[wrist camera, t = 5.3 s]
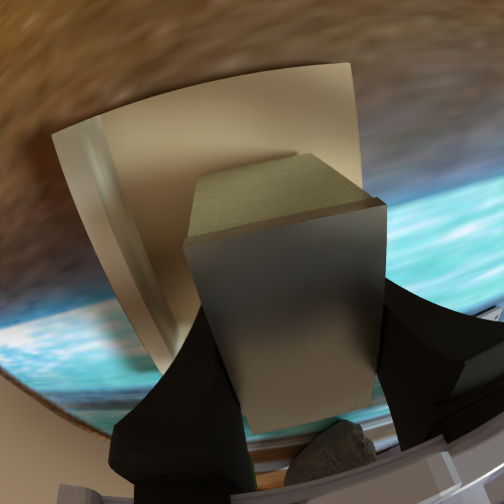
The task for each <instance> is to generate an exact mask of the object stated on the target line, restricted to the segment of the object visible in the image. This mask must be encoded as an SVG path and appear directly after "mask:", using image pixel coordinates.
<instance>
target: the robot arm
mask: <svg viewBox="0 0 504 504" xmlns="http://www.w3.org/2000/svg"><path fill="white" fill-rule="evenodd" d="M501 311H502V309H501V308H500V307H499V306H498V307H495V308H493V309H491V310H489V311H487V312H485V313H483V314H481V315H478V316H476V317H474V316H470V315H466V314H463V313H459V312H456V311H453V310H450V309H448V308H445V307H442V306H439V305H437V304H434V303H432V302H430V301H428V300H426V299H423V298H421V297H419V296H417V295H415V294H413V293H411V292H409V291H408V290H406V289H404V288H402V287H400V286H399V285H397V284H395V283H394V282H392V281H390V280H389V279H387V278H386V277H385V290H384V304H383V315H382V326H381V335H380V344H379V352H378V360H377V367H376V373H377V376H378V379H379V381H380V384H381V387H382V389H383V392H384V395H385V398H386V401H387V404H388V407H389V410H390V413H391V416H392V419H393V423H394V426H395V430H396V433H397V437H398V441H399V445H400V449H401V453H398V454H396V455H393V456H390V457H388V458H385V459H382V460H380V461H377V462H374V463H371V464H368V465H365V466H362V467H359V468H356V469H353V470H350V471H346V472H343V473H339V474H336V475H332V476H329V477H325V478H321V479H317V480H313V481H309V482H305V483H300V484H296V485H291V486H286V487H281V488H275V489H270V490H264V491H257V492H256V488H255V483H254V478H253V474H252V469H251V464H250V459H249V454H248V449H247V443H246V437H245V432H244V426H243V420H242V413H241V407H240V403H239V400H238V398H237V395H236V393H235V391H234V388H233V386H232V383H231V381H230V378H229V376H228V373H227V371H226V368H225V365H224V363H223V360H222V358H221V355H220V353H219V350H218V347H217V345H216V342H215V339H214V337H213V334H212V331H211V329H210V326H209V323H208V320H207V318H206V315H205V312H204V309H203V307H202V304H201V305H200V308H199V310H198V313H197V315H196V318H195V320H194V322H193V324H192V327H191V329H190V331H189V333H188V335H187V337H186V339H185V341H184V343H183V345H182V347H181V348H180V350H179V352H178V354H177V355H176V357H175V359H174V360H173V362H172V363H171V365H170V366H169V368H168V369H167V371H166V372H165V373H164V375H163V376H162V377H161V379H160V380H159V381H158V383H157V384H156V385H155V386H154V388H153V389H152V390H151V391H150V392H149V393H148V394H147V396H146V397H145V398H144V399H143V400H142V401H141V402H140V403H139V404H138V405H137V406H136V407H135V408H134V409H133V410H132V411H131V412H129V413H128V414H127V415H126V416H125V417H124V418H123V419H122V420H120V421H119V422H118V423H117V424H116V425H114V429H113V433H112V437H111V443H110V452H109V460H108V463H109V466H110V467H111V468H112V469H113V470H114V471H115V472H116V473H117V474H119V475H120V476H122V477H123V478H125V479H126V480H128V481H129V482H131V483H132V484H134V498H124V497H111V496H101V495H100V494H99V493H97V492H96V491H94V490H92V489H89V488H84V487H79V486H72V485H65V484H60V485H59V491H58V498H57V504H504V322H499V321H498V319H499V316H500V314H501Z"/></svg>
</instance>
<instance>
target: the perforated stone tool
mask: <svg viewBox="0 0 504 504" xmlns="http://www.w3.org/2000/svg"><path fill="white" fill-rule="evenodd" d="M377 461H379V460H378V459H377V455H376V451H375V447H374V444H373V442H372V441H371V440H370V439H368V438H366V437H365V436H364V435H363V429H362V427H361V426H360V425H359V424H355V423H353V422H349V421H347V420H342V421H340V422H338V423H336V424H335V425H333V426H331V427H330V428H328V429H327V430H325V431H323V432H322V433H321V434H319V435H318V436H317V437H316V438H315V439H314V440H313V441H312V442H310V443H309V445H308V446H306V447H305V448H304V449H303V450H302V451H301V452H300V453H299V454H298V456H297V457H296V458H295V459H294V460H293V461H292V463H291V464H290V466H289V468H288V470H287V473H286V476H285V480H284V487H286V486H291V485H296V484H300V483H305V482H309V481H313V480H317V479H321V478H325V477H329V476H332V475H336V474H339V473H343V472H346V471H350V470H353V469H356V468H359V467H362V466H365V465H368V464H371V463H374V462H377Z"/></svg>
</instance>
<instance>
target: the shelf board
mask: <svg viewBox="0 0 504 504" xmlns="http://www.w3.org/2000/svg"><path fill="white" fill-rule="evenodd" d="M51 136H52V139H53V143H54V146H55V149H56V152H57V155H58V158H59V161H60V164H61V167H62V170H63V173H64V176H65V178H66V181H67V184H68V187H69V189H70V192H71V195H72V197H73V200H74V202H75V205H76V207H77V210H78V212H79V215H80V217H81V220H82V222H83V225H84V227H85V229H86V232H87V234H88V236H89V239H90V241H91V243H92V245H93V248H94V250H95V252H96V254H97V256H98V258H99V261H100V263H101V265H102V267H103V269H104V271H105V273H106V275H107V277H108V281H109V283H110V285H111V287H112V289H113V291H114V293H115V295H116V297H117V299H118V301H119V303H120V304H121V306H122V308H123V310H124V312H125V314H126V316H127V317H128V319H129V321H130V323H131V325H132V326H133V328H134V330H135V332H136V334H137V335H138V337H139V339H140V341H141V342H142V344H143V346H144V347H145V348H146V350H147V351H148V353H149V355H150V356H151V358H152V360H153V361H154V363H155V364H156V366H157V368H158V369H159V371H160V372H161V375H162V376H163V375H164V373H165V372H166V371H167V369H168V368H169V366H170V365H171V363H172V362H173V360H174V359H175V357H176V355H177V354H178V352H179V350H180V348H181V347H182V345H183V343H184V341H185V339H186V337H187V335H188V333H189V331H190V329H191V327H192V324H193V322H194V320H195V318H196V315H197V313H198V310H199V308H200V305H201V301H200V298H199V295H198V292H197V289H196V287H195V284H194V281H193V278H192V275H191V272H190V269H189V266H188V263H187V260H186V257H185V254H184V251H183V244H184V238H188V231H189V224H190V218H191V212H192V206H193V200H194V194H195V188H196V182H197V177H198V176H201V175H205V174H210V173H214V172H218V171H223V170H227V169H232V168H236V167H241V166H246V165H250V164H255V163H260V162H265V161H270V160H275V159H280V158H286V157H291V156H297V155H302V154H308V153H312V154H313V155H315V156H316V157H318V158H319V159H321V160H322V161H323V162H325V163H326V164H328V165H329V166H331V167H332V168H333V169H335V170H336V171H338V172H339V173H340V174H342V175H343V176H345V177H346V178H347V179H349V180H350V181H352V182H353V183H354V184H356V185H357V186H358V187H360V188H361V189H362V171H361V156H360V143H359V132H358V122H357V112H356V103H355V95H354V87H353V80H352V73H351V66H350V63H336V64H323V65H312V66H302V67H293V68H285V69H278V70H271V71H264V72H258V73H252V74H246V75H241V76H236V77H230V78H226V79H221V80H216V81H212V82H207V83H203V84H199V85H194V86H190V87H186V88H183V89H179V90H175V91H171V92H168V93H164V94H161V95H157V96H154V97H151V98H147V99H144V100H141V101H138V102H135V103H132V104H129V105H126V106H123V107H120V108H117V109H114V110H111V111H109V112H106V113H103V114H101V115H98V116H95V117H93V118H90V119H87V120H85V121H82V122H80V123H77V124H75V125H72V126H70V127H68V128H65V129H63V130H61V131H58V132H56V133H54V134H52V135H51Z"/></svg>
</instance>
